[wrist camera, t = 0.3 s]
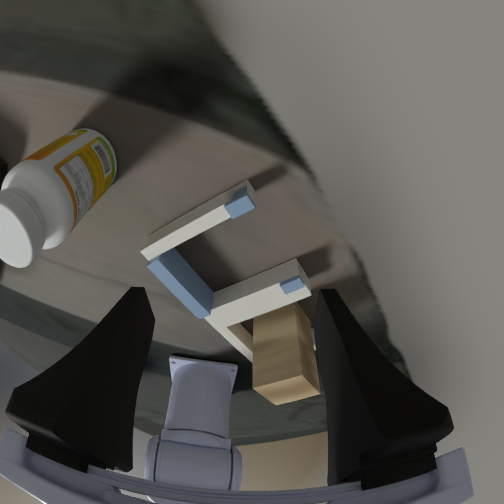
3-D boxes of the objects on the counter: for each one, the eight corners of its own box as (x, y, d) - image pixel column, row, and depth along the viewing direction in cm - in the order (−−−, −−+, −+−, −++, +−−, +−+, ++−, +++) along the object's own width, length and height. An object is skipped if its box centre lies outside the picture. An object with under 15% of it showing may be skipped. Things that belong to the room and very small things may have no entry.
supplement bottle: (52, 175, 18) (-26, 248, 11) (71, 115, 16) (-28, 170, 8) (105, 206, 20) (40, 295, 12) (130, 147, 18) (49, 222, 10)
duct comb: (336, 325, 28) (340, 346, 26) (257, 352, 31) (257, 372, 29) (247, 179, 19) (246, 196, 17) (147, 236, 22) (137, 256, 20)
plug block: (309, 320, 28) (320, 393, 21) (273, 333, 29) (275, 405, 22) (292, 295, 26) (301, 375, 19) (253, 310, 27) (252, 388, 20)
